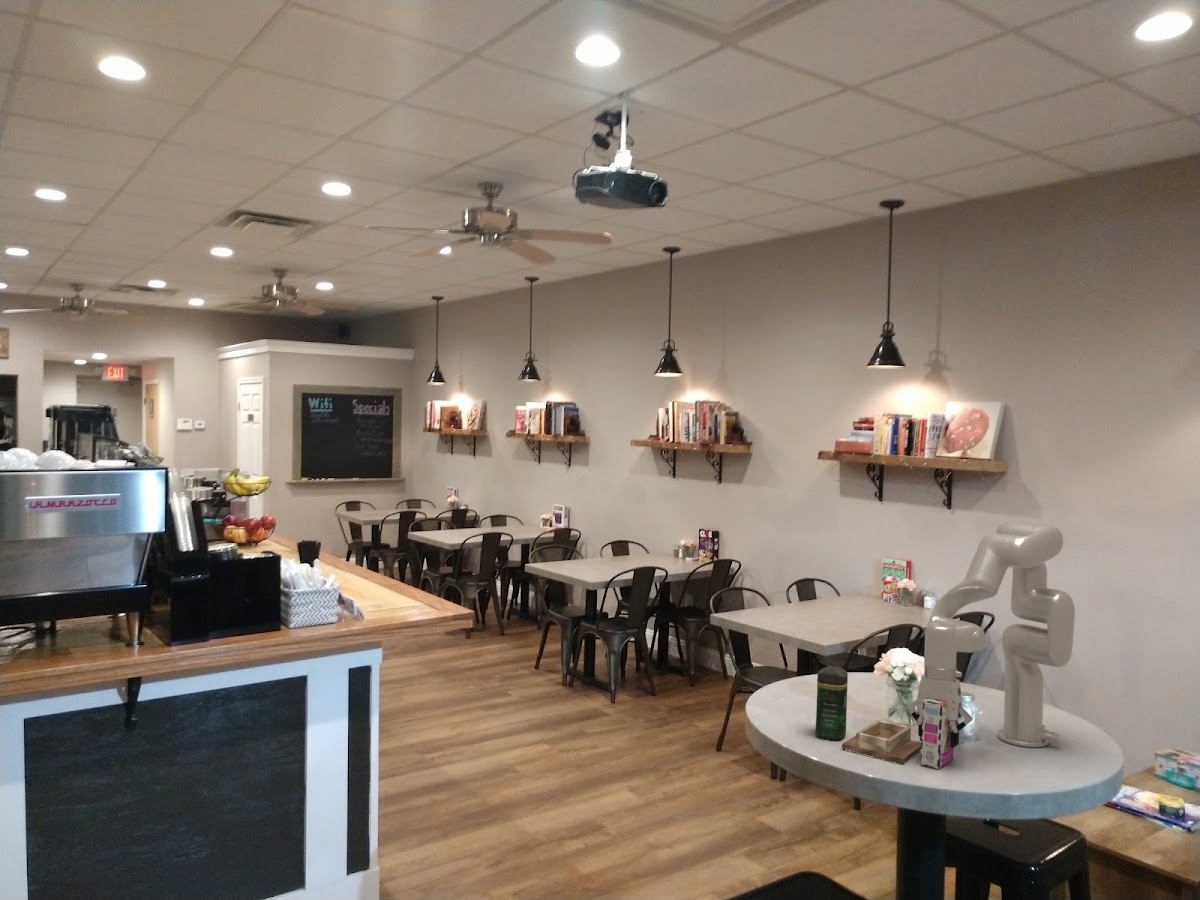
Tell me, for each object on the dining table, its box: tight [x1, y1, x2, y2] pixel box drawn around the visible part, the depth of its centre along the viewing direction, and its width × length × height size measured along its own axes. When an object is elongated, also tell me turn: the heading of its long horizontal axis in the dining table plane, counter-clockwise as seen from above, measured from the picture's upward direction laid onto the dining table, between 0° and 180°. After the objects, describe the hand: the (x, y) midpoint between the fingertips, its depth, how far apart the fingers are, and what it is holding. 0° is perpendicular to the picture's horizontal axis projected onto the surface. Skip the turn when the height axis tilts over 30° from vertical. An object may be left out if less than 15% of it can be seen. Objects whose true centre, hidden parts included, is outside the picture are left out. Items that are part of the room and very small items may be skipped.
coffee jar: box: [815, 665, 849, 740], centre depth 239 cm, size 10×8×19 cm
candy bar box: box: [920, 698, 955, 770], centre depth 220 cm, size 11×5×16 cm, turn 141°
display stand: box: [841, 719, 922, 765], centre depth 229 cm, size 16×16×5 cm
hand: (938, 742), depth 220 cm, fingers open, 6 cm apart
